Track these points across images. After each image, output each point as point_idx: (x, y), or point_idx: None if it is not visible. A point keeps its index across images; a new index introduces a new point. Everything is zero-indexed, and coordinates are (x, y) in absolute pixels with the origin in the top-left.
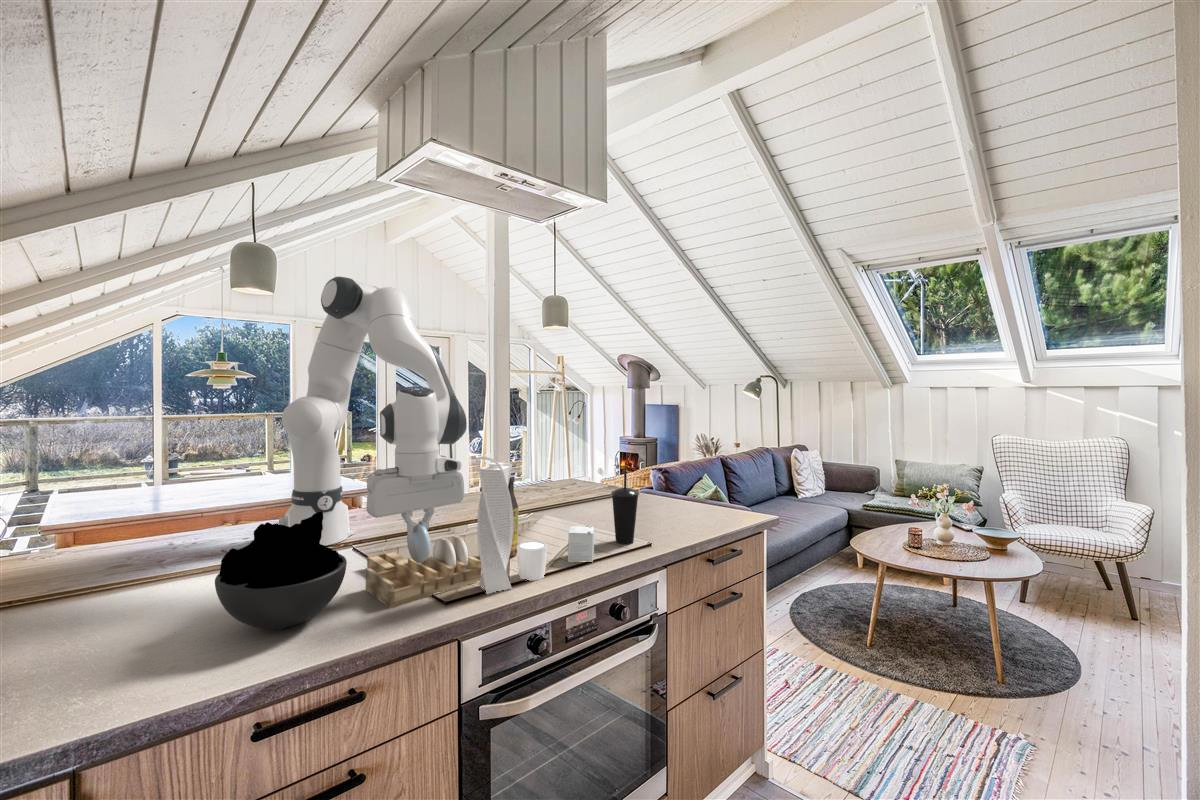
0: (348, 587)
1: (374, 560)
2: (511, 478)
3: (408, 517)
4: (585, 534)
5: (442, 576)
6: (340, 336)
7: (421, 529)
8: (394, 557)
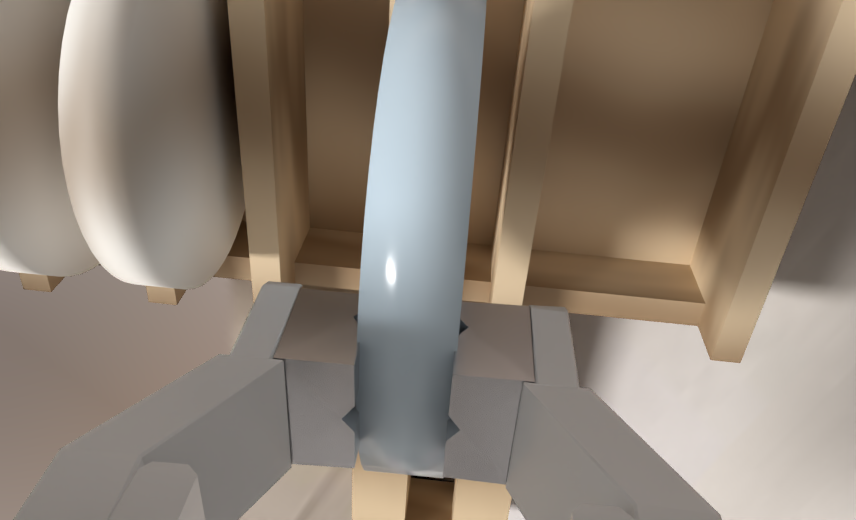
0: (728, 367)
1: (505, 497)
2: None
3: (660, 504)
4: None
5: None
6: None
7: (454, 219)
8: None
